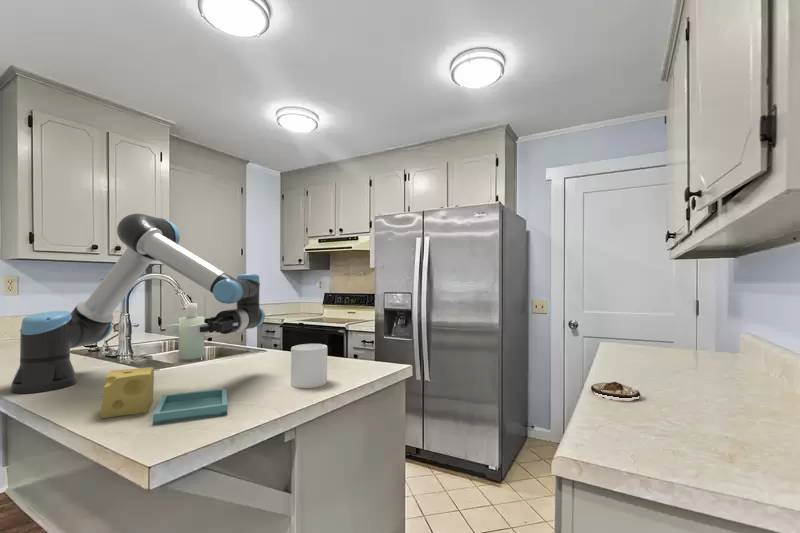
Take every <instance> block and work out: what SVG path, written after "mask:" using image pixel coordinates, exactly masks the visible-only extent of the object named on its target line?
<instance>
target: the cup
mask: <svg viewBox="0 0 800 533" xmlns="http://www.w3.org/2000/svg"><path fill="white" fill-rule="evenodd" d="M290 351H291V352H290V386H292V387H294V388H297V389H298V388H299V389H314V388H319V387H323V386H325V385H326V384H327V383H328V345H326V344H324V343H323V344H322V343H303V344H297V345H294V346H291V348H290Z"/></svg>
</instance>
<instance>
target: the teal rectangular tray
mask: <svg viewBox="0 0 800 533" xmlns="http://www.w3.org/2000/svg"><path fill="white" fill-rule="evenodd" d="M227 392H228V391H227V387H224V388H223V387H222V388H217V389H214V388H213V389H206V390H198V391H197V390H196V391H188V392H180V393H171V394H163V395H161V397H160V399H159V402H158V403H157V405H156V407H155V409H154V411H153V413H152V426H155V425H163V424H171V423H179V422H184V421H191V420H190V419H192V420H198V418H200V419H205V418H206V419H207V418H212V417H213V418H214V417H219V416H220V417H221V416H228V393H227ZM170 422H171V423H170Z"/></svg>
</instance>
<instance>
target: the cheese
mask: <svg viewBox="0 0 800 533" xmlns="http://www.w3.org/2000/svg"><path fill="white" fill-rule="evenodd" d="M154 369H155V368H154V367H153V366H152V367H150V366H149V367H140V368H139V367H138V368H129V369H115V370H110V372H108V374H106V375H105V384H104V386H103V388H102V393H101V397H102V403H101V405H100V410H99V412H100V413H99V415H100V418H101V419H102V418H103V419H109V418H114V417H122V416H129V415H138V413H140V414H147V413H149V410H150V408H151V406H152V404H153V402H152V401H154V383H155V382H154V380H155V379H154V378H155V373H154ZM146 412H147V413H146Z"/></svg>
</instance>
